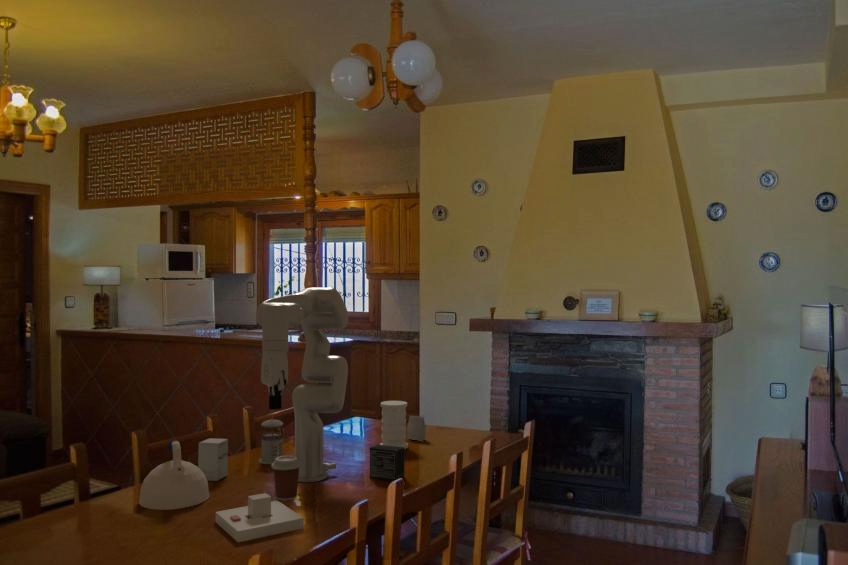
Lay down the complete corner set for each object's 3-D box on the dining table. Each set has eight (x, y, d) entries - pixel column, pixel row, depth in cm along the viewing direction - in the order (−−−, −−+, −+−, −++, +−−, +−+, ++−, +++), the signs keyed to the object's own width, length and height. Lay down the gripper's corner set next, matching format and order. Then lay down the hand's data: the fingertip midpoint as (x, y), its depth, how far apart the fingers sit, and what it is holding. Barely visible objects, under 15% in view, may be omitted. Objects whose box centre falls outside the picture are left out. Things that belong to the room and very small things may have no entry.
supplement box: (217, 481, 227) (217, 443, 227) (197, 480, 228) (197, 442, 228) (228, 475, 234) (228, 438, 234) (208, 474, 236) (208, 437, 236)
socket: (277, 510, 198) (277, 498, 198) (303, 528, 183) (303, 515, 183) (215, 522, 188) (215, 509, 188) (237, 542, 173) (237, 529, 173)
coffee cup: (286, 503, 204) (287, 463, 204) (264, 498, 208) (265, 459, 209) (307, 495, 211) (307, 457, 211) (285, 491, 216) (285, 453, 216)
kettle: (142, 515, 194) (142, 451, 194) (135, 495, 212) (136, 437, 212) (215, 504, 203) (215, 444, 203) (203, 486, 221) (203, 430, 222)
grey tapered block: (421, 441, 286) (421, 418, 286) (407, 440, 289) (407, 416, 289) (425, 440, 289) (425, 416, 289) (411, 438, 292) (411, 415, 292)
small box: (405, 477, 232) (405, 446, 232) (396, 482, 226) (396, 450, 227) (378, 473, 237) (378, 443, 237) (369, 478, 231) (369, 447, 231)
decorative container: (413, 446, 277) (413, 402, 277) (397, 452, 267) (397, 406, 268) (390, 442, 283) (390, 399, 284) (373, 448, 274) (373, 403, 274)
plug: (264, 519, 189) (265, 492, 189) (271, 524, 185) (271, 497, 185) (246, 523, 186) (246, 496, 186) (252, 528, 182) (252, 500, 182)
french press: (253, 462, 251) (253, 394, 252) (271, 455, 262) (271, 390, 262) (275, 465, 248) (275, 396, 248) (293, 457, 258) (293, 391, 259)
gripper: (253, 345, 204) (253, 406, 204) (273, 348, 191) (272, 414, 191) (277, 343, 208) (277, 404, 208) (297, 347, 196) (297, 411, 196)
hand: (275, 408), depth 200 cm, fingers closed
